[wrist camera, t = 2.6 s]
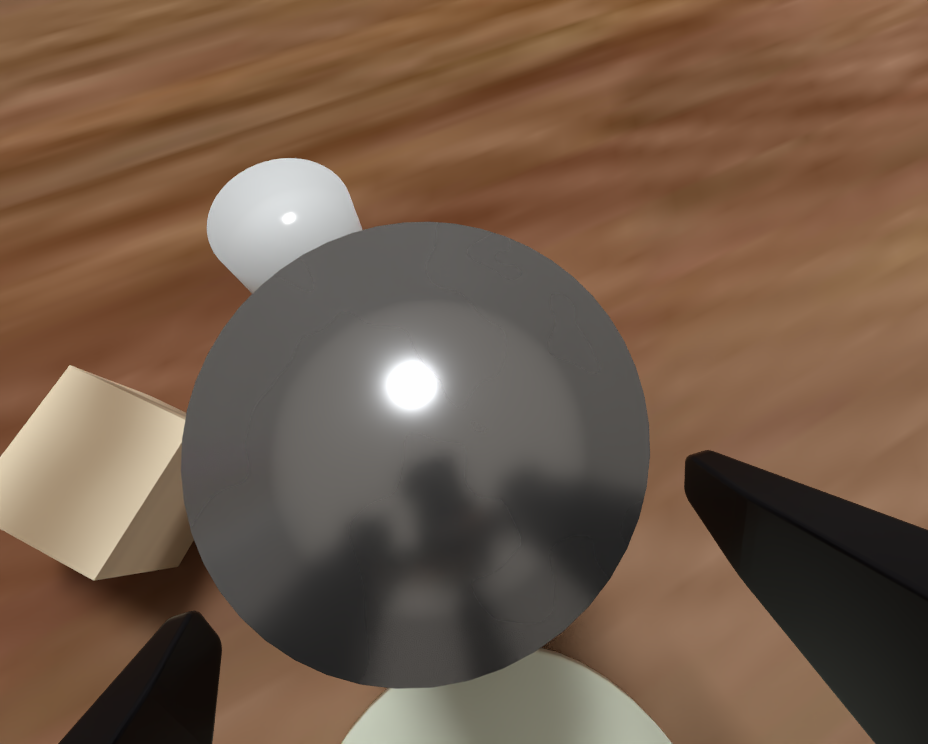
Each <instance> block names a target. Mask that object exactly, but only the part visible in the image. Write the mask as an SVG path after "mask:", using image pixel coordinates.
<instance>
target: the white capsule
mask: <svg viewBox="0 0 928 744" xmlns="http://www.w3.org/2000/svg"><path fill="white" fill-rule="evenodd" d="M358 231H362V227H361V225H360V222H359V219H358V216H357V214H356V211H355V208H354V206H353V203H352V200H351V198H350V195H349V193H348V190H347V188H346V186H345V185H344V183H343V182H342V181H341V179H340V178H339V177H338V176H337V175H336V174H335V173H333V172H332V171H331V170H329V169H328V168H326V167H324V166H322V165H320V164H318V163H315V162H312V161H309V160H304V159H295V158H283V159H275V160H270V161H266V162H263V163H260V164H257V165H254V166H252V167H250V168H248V169H246V170H244V171H243V172H241V173H239V174H238V175H237V176H235V177H234V178H233V179H231V180H230V181H229V182H228V183H227V184H226V185H225V186H224V187H223V188H222V190H221V191H220V192H219V194H218V195H217V197H216V198H215V200H214V202H213V204H212V206H211V208H210V211H209V215H208V220H207V234H208V240H209V243H210V246H211V248H212V250H213V252H214V253H215V255H216V256H217V257H218V259H219V260H220V261H221V262H222V263H223V264H224V265H225V266H226V267H227V268H228V269H229V270H230V271H231V272H232V273H233V274H234V275H235V276H236V277H237V278H238V279H239V280H240V281H241V283H242V284H243V285H244V286H245V287H246V288H247V289H248V290H249V291H250V292H251V293H252V294H253V293H254V292H255V291H256V290H257V289H258V288H259V287H260V286H261V285H262V284H263V283H265V282H266V281H267V280H268V279H269V278H271V277H272V276H273V275H274V274H275V273H277V272H278V271H279V270H280V269H282V268H283V267H285V266H286V265H288V264H289V263H291V262H292V261H294V260H296V259H297V258H299V257H300V256H302V255H303V254H305V253H307V252H309V251H311V250H313V249H315V248H317V247H319V246H321V245H323V244H325V243H327V242H329V241H332V240H335V239H337V238H340V237H343V236H345V235H348V234H351V233H354V232H358Z"/></svg>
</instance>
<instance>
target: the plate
mask: <svg viewBox="0 0 928 744" xmlns="http://www.w3.org/2000/svg"><path fill="white" fill-rule="evenodd" d="M341 744H672V743H671V742H670V740H669V739H668V738H667V736H666V735H665V734H664V733H663V731H662V730H661V729H660V728H659V727H658V725H657V724H656V723H655V722H654V721H653V720H652V719H651V718H650V717H649V716H648V714H647V713H646V712H645V711H644V710H643V709H642V708H641V707H640V706H639V705H638V704H637V703H636V702H635V701H634V700H633V699H632V698H631V697H630V696H629V695H628V694H627V693H626V692H624V691H623V690H622V689H620V688H619V687H618V686H617V685H615V684H614V683H613V682H611V681H610V680H609V679H608V678H606V677H605V676H604V675H602V674H600V673H599V672H597V671H595V670H594V669H592V668H590V667H589V666H587V665H585V664H584V663H582V662H580V661H577V660H575V659H573V658H570V657H568V656H566V655H563V654H561V653H559V652H555V651H552V650H548V649H544V648H540V649H538V650H537V651H535V652H534V653H532V654H530V655H528V656H526V657H524V658H522V659H521V660H519V661H517V662H515V663H513V664H511V665H509V666H507V667H505V668H503V669H501V670H498V671H495V672H492V673H490V674H487V675H484V676H481V677H478V678H475V679H472V680H469V681H465V682H460V683H454V684H449V685H444V686H438V687H433V688H404V689H394V688H387V689H386V690H385V691H384V692H382V693H381V694H380V695H379V696H378V697H377V698H376V699H375V700H374V701H373V702H372V703H371V704H370V705H369V706H368V708H367V709H366V710H365V711H364V712H363V714H362V715H361V716H360V717H359V718H358V719H357V721H356V722H355V723H354V724H353V726H352V727H351V729H350V730H349V732H348V733H347V735H346V736H345V738H344V739H343V741H342V742H341Z"/></svg>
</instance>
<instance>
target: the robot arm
mask: <svg viewBox="0 0 928 744" xmlns="http://www.w3.org/2000/svg"><path fill="white" fill-rule="evenodd" d="M684 489H685V494H686V497H687V499H688V501H689V502H690V504H691V505H692V507H693V508H694V510H695V511H696V513H697V514H698V516H699V517H700V519H701V520H702V522H703V523H704V525H705V526H706V528H707V529H708V531H709V532H710V534H711V535H712V537H713V538H714V540H715V541H716V543H717V544H718V546H719V547H720V549H721V550H722V552H723V553H724V555H725V556H726V558H727V559H728V561H729V562H730V564H731V565H732V567H733V568H734V569H735V571H736V572H737V574H738V575H739V576H740V578H741V579H742V580H743V581H744V583H745V584H746V585H747V587H748V588H749V589H750V590H751V592H752V593H753V594H754V595H755V596H756V598H757V599H758V600H759V601H760V603H761V604H762V605H763V606H764V607H765V609H766V610H767V611H768V612H769V614H770V615H771V616H772V617H773V619H774V620H775V621H776V622H777V623H778V625H779V626H780V627H781V628H782V630H783V631H784V632H785V633H786V634H787V636H788V637H789V638H790V639H791V641H792V642H793V643H794V644H795V646H796V647H797V648H798V649H799V650H800V652H801V653H802V654H803V655H804V657H805V658H806V659H807V660H808V661H809V663H810V664H811V665H812V666H813V668H814V669H815V670H816V671H817V673H818V674H819V675H820V676H821V677H822V679H823V680H824V681H825V682H826V684H827V685H828V686H829V687H830V688H831V690H832V691H833V692H834V693H835V695H836V696H837V697H838V698H839V700H840V701H841V702H842V703H843V704H844V706H845V707H846V708H847V709H848V711H849V712H850V713H851V714H852V715H853V717H854V718H855V719H856V720H857V722H858V723H859V724H860V725H861V727H862V728H863V729H864V730H865V731H866V733H867V734H868V735H869V736H870V738H871V739H872V740H873V741H874V742H875V744H928V530H926V529H924V528H921V527H918V526H915V525H913V524H910V523H907V522H905V521H902V520H899V519H896V518H894V517H891V516H888V515H886V514H883V513H880V512H877V511H875V510H872V509H869V508H866V507H864V506H861V505H858V504H856V503H853V502H850V501H847V500H845V499H842V498H839V497H836V496H834V495H831V494H828V493H826V492H823V491H820V490H817V489H815V488H812V487H809V486H807V485H804V484H801V483H798V482H796V481H793V480H790V479H787V478H785V477H782V476H779V475H777V474H774V473H771V472H768V471H766V470H763V469H760V468H758V467H755V466H752V465H749V464H747V463H744V462H741V461H738V460H736V459H733V458H730V457H728V456H725V455H722V454H719V453H717V452H714V451H710V450H705V451H701V452H698V453H695V454H692V455H689V456H688V457H687V458H686V460H685V482H684ZM221 655H222V645H221V641H220V638H219V636H218V635H217V633H216V632H215V631H214V630H213V628H212V627H211V626H210V625H209V623H208V622H207V621H206V620H205V618H204V617H203V616H202V615H201V614H200V613H199V612H197V611H189V612H186V613H183V614H180V615H176V616H173V617H171V618H170V619H168V620H167V621H166V622H165V623H164V624H163V625H162V626H161V627H160V629H159V630H158V631H157V632H156V633H155V634H154V635H153V636H152V638H151V639H150V640H149V641H148V642H147V643H146V644H145V646H144V647H143V648H142V649H141V650H140V651H139V652H138V654H137V655H136V656H135V657H134V658H133V659H132V660H131V662H130V663H129V664H128V665H127V666H126V667H125V668H124V670H123V671H122V672H121V673H120V674H119V675H118V676H117V677H116V679H115V680H114V681H113V682H112V683H111V684H110V685H109V687H108V688H107V689H106V690H105V691H104V692H103V693H102V695H101V696H100V697H99V698H98V699H97V700H96V701H95V703H94V704H93V705H92V706H91V707H90V708H89V709H88V711H87V712H86V713H85V714H84V715H83V716H82V717H81V718H80V720H79V721H78V722H77V723H76V724H75V725H74V726H73V728H72V729H71V730H70V731H69V732H68V733H67V734H66V736H65V737H64V738H63V739H62V740H61V741H60V742H59V744H212V741H213V732H214V723H215V713H216V703H217V694H218V684H219V674H220V664H221Z"/></svg>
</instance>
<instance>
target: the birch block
mask: <svg viewBox="0 0 928 744" xmlns="http://www.w3.org/2000/svg"><path fill="white" fill-rule="evenodd" d="M185 419H186V413H185V412H183V411H181V410H179V409H177V408H175V407H173V406H170V405H168V404H166V403H164V402H162V401H160V400H158V399H156V398H153V397H151V396H149V395H147V394H144V393H141V392H139V391H136V390H134V389H131V388H128V387H126V386H123V385H120V384H118V383H115V382H113V381H110V380H107V379H105V378H102V377H99V376H97V375H94V374H92V373H89V372H86V371H84V370H81V369H79V368H76V367H73V366H71V365H70V366H69V367H68V368H67V370H66V371H65V372H64V374H63V375H62V376H61V378H60V379H59V380H58V382H57V383H56V384H55V386H54V387H53V388H52V390H51V391H50V392H49V394H48V395H47V396H46V397H45V399H44V400H43V401H42V403H41V404H40V405H39V407H38V408H37V409H36V411H35V412H34V413H33V415H32V416H31V417H30V419H29V420H28V421H27V423H26V424H25V425H24V427H23V428H22V429H21V431H20V432H19V433H18V435H17V436H16V437H15V439H14V440H13V441H12V443H11V444H10V445H9V447H8V448H7V449H6V450H5V452H4V453H3V454H2V456H1V457H0V529H2V530H3V531H5V532H7V533H9V534H11V535H12V536H14V537H16V538H18V539H20V540H21V541H23V542H25V543H27V544H29V545H30V546H32V547H34V548H36V549H38V550H39V551H41V552H43V553H45V554H47V555H48V556H50V557H52V558H54V559H56V560H57V561H59V562H61V563H63V564H65V565H66V566H68V567H70V568H72V569H74V570H75V571H77V572H79V573H81V574H83V575H84V576H86V577H88V578H90V579H92V580H93V581H95V580H101V579H107V578H113V577H119V576H125V575H131V574H137V573H143V572H149V571H155V570H161V569H167V568H173V567H178V566H179V564H180V563H181V561H182V559H183V557H184V556H185V554H186V552H187V551H188V549H189V547H190V546H191V544H192V542H193V540H194V538H193V536H192V533H191V529H190V525H189V521H188V517H187V513H186V508H185V504H184V498H183V487H182V477H181V454H182V437H183V431H184V425H185Z"/></svg>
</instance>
